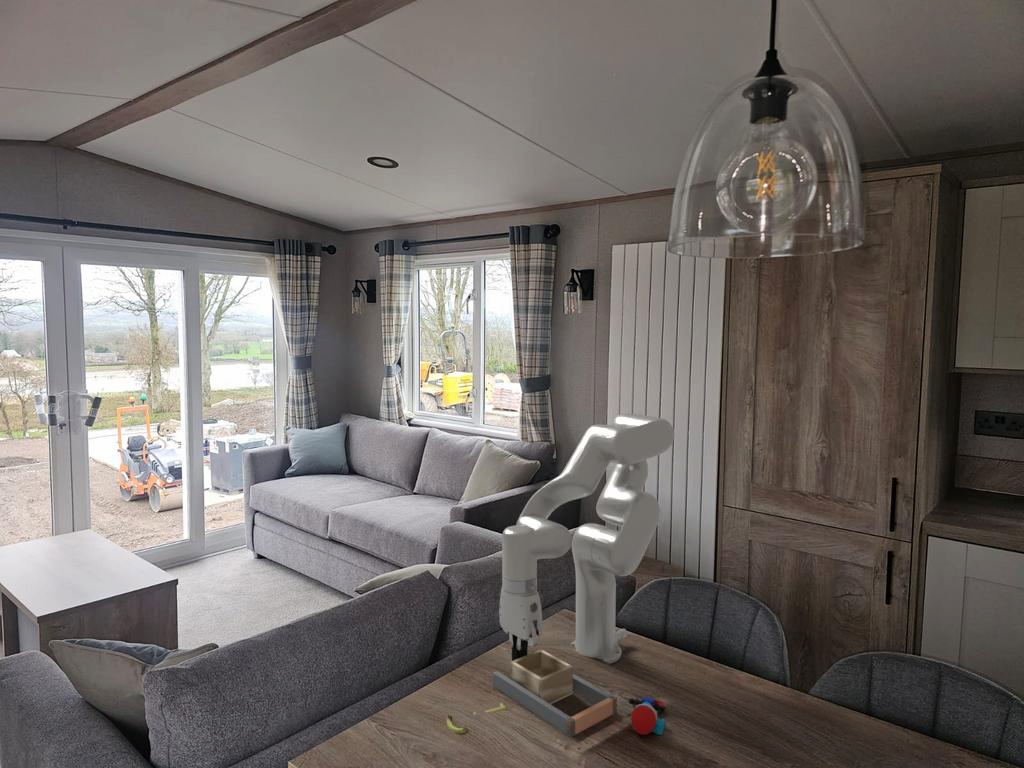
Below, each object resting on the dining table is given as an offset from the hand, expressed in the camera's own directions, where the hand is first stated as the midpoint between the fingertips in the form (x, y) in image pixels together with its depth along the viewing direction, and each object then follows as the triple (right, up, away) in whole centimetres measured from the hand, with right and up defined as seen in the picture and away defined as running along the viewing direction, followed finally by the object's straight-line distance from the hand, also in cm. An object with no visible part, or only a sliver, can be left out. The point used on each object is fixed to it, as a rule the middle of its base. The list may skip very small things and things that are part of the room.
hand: (519, 663), depth 149 cm
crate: (+4, -4, -5) cm, 8 cm away
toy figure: (+25, -6, -14) cm, 29 cm away
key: (-9, -6, -13) cm, 17 cm away
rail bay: (+7, -5, -8) cm, 12 cm away
